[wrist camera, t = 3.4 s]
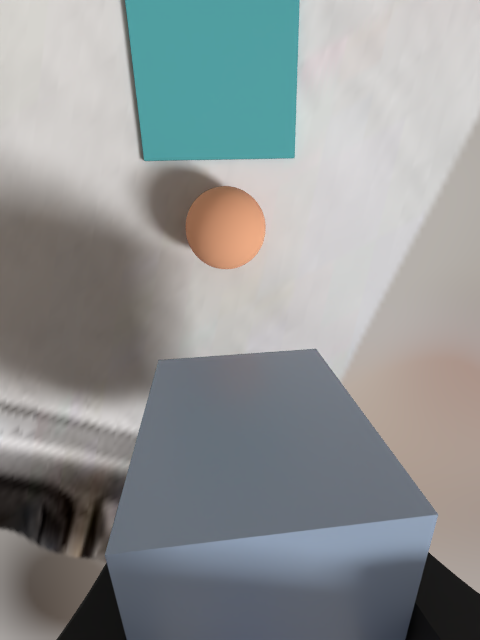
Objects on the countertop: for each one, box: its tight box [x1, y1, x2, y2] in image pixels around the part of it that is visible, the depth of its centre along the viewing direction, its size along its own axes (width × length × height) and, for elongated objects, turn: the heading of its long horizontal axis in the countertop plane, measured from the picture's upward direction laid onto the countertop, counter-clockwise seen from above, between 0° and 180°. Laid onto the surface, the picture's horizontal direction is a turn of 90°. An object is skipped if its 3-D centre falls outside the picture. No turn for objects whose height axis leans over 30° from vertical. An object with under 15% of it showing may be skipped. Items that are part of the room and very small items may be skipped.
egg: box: [186, 186, 265, 269], centre depth 15 cm, size 4×4×4 cm
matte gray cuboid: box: [105, 349, 438, 640], centre depth 10 cm, size 9×6×7 cm, turn 2°
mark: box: [125, 0, 299, 161], centre depth 14 cm, size 7×7×1 cm
